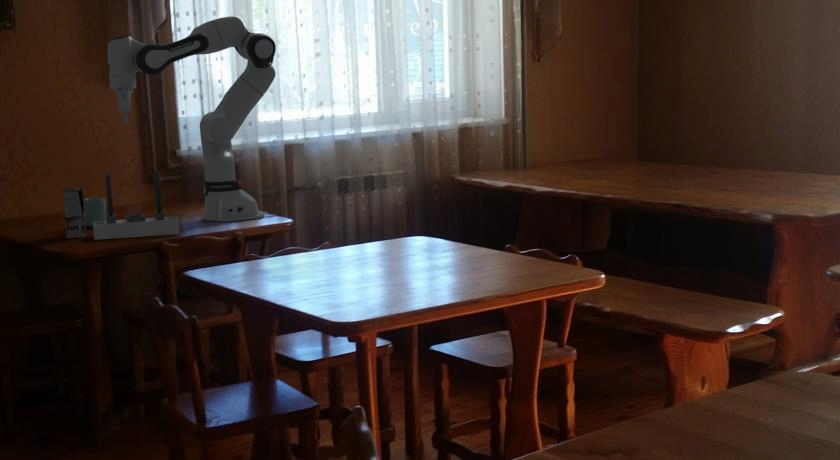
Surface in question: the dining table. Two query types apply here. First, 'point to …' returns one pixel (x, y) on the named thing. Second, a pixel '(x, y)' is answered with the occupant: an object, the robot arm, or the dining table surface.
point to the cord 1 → (110, 201)
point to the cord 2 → (158, 198)
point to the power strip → (135, 227)
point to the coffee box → (74, 212)
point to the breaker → (135, 210)
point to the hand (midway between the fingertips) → (125, 123)
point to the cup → (94, 210)
